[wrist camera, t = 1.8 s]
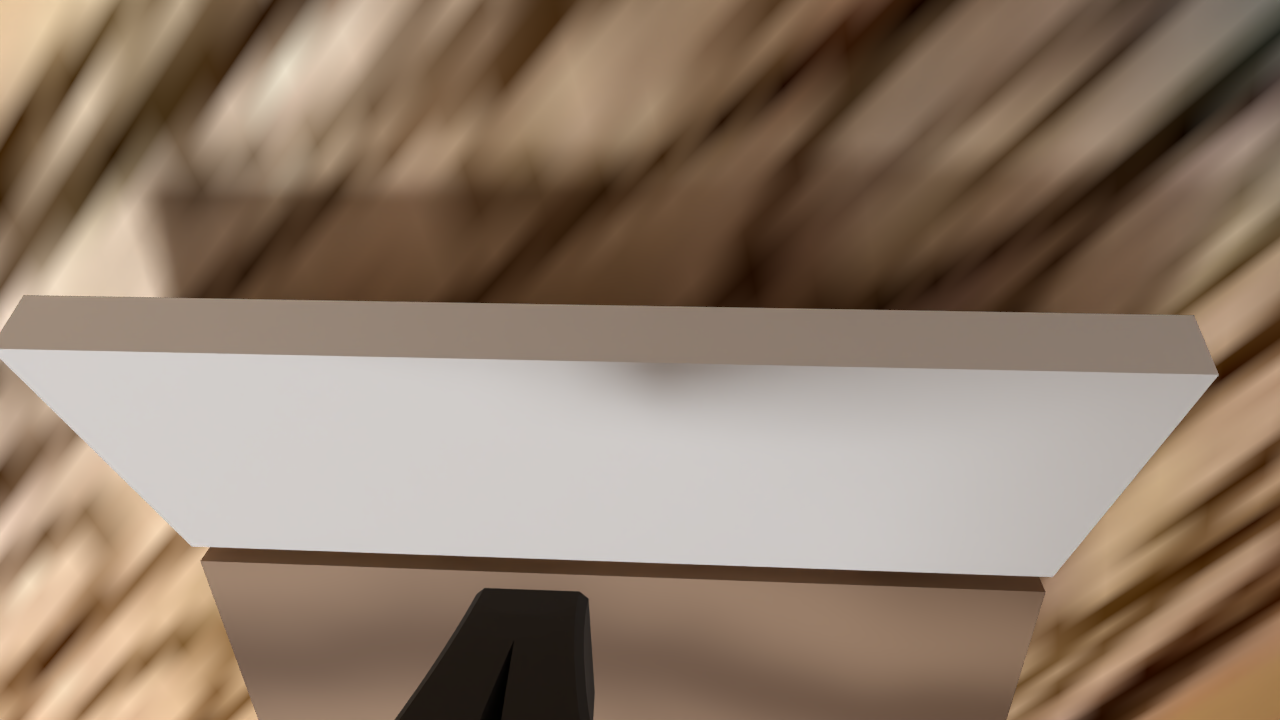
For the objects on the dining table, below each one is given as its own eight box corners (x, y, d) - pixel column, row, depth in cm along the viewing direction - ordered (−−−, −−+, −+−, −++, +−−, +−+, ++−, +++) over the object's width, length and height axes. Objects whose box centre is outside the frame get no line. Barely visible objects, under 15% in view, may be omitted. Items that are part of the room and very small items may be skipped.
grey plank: (1041, 528, 21) (1053, 577, 20) (209, 501, 22) (191, 546, 21) (1194, 315, 14) (1219, 374, 14) (23, 295, 16) (-10, 348, 15)
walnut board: (976, 740, 25) (987, 779, 24) (284, 707, 26) (267, 743, 25) (1028, 555, 21) (1045, 591, 20) (223, 527, 23) (200, 561, 21)
